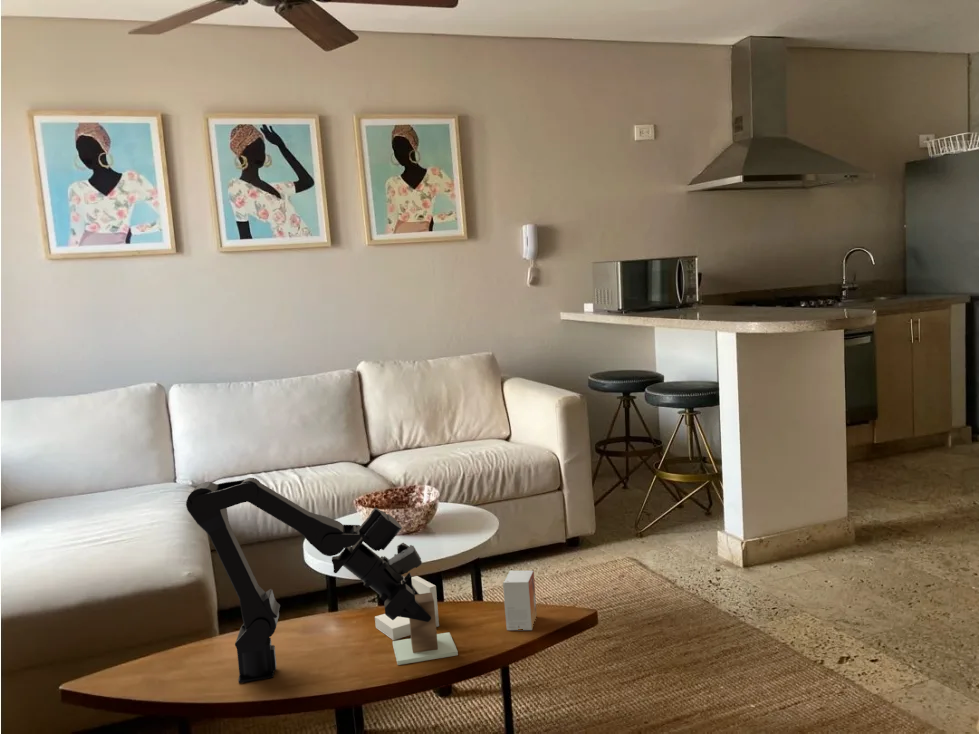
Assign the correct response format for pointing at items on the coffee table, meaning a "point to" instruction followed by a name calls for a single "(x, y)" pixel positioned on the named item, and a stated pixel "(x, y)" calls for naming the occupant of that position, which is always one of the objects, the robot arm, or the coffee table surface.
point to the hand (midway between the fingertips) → (428, 613)
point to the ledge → (401, 624)
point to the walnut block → (424, 626)
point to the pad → (407, 656)
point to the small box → (520, 600)
